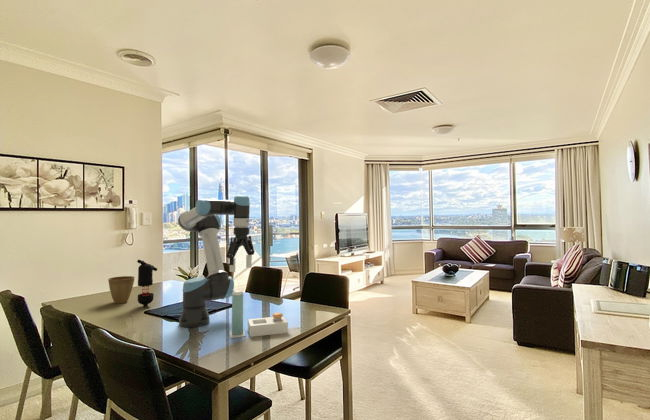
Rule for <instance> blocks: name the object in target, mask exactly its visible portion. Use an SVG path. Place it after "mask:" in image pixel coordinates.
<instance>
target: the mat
mask: <svg viewBox="0 0 650 420" xmlns="http://www.w3.org/2000/svg"><path fill="white" fill-rule="evenodd" d="M245 331H246V330H245V329H243V334H241V335H232V330H229V337H230V338H229V339H236V338H245V337H246V332H245Z"/></svg>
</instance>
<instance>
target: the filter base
mask: <svg viewBox="0 0 650 420" xmlns="http://www.w3.org/2000/svg"><path fill="white" fill-rule="evenodd" d="M288 323H289V322H288V321H287V319H286V318H285V316H283V317H281V321H275V322H274V318H273V316H270V317H269V316H268V317H260V318H259V317H257V318H248V319H247V332H248V333H249V336H250V337H251V338H252V337H259V336H260V337H261V336H269V335H279V334H288V332H289V328H288V327H289V326H288V325H289V324H288Z"/></svg>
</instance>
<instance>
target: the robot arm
mask: <svg viewBox="0 0 650 420" xmlns="http://www.w3.org/2000/svg"><path fill="white" fill-rule="evenodd" d="M250 204H251V203H250V197H249V196H247V195H235V196H234V198H233V199H232V200H231V199H230V200H229V199H206V198H205V199H204V198H202V199H197V201H196V202H195V207H193V208H192V209H190V210H186V211H183V212H182V213H181V214H179V216H178V218H177V223H178V225H179V227H180V228H181V229H182V230H184V231H186V232H192V233H195V232H196V233H198V236H199V237H200V238H201V239H202V244H203V249H204V256H205V261H206V262H205V263H206V267H207V272H208V274H207V276H206V277H205V276H200V277H193V278H189V279H187V280H185V281H184V282H183V283H182V284H183V285H182V309H181V310H182V312H181V314H180V317H179V319H178V325H179V326H180V327H183V328H198V327H202V326H205V325H207V324H209V323H210V321H211V319H210V315H209V312H208V309H207V302H212V301H218V300H224V299H228V298H230V297H232V295H233V291H235V281H234V278H233V277H232V276H230V275H229V273H228V272H227V271H225V267H224V263H223V259H222V258H223V257H222V254H221V248H220V243H219V238H218V234H219V232H220V230H221V227H222V221H221V218H220V216H223V215H224V216H233V226H234V228H233V235H234V237H230V242H229V246H228V248H227V252H226V256H225V257H226V258H227V259H229V262H228V264H229V272H231V273H236V255H237V253H238V250H239V248H241V247H243V248H244V251H245V252H246V255H245V256H246V257H245V258H246V259H245V268H247V269H252V259H253V256H252V255H254V254H255V249H254V245H253V242H252V236H251V235H250V227H249V226H250V207H251V206H250Z"/></svg>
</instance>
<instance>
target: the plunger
mask: <svg viewBox="0 0 650 420" xmlns="http://www.w3.org/2000/svg"><path fill="white" fill-rule="evenodd" d="M283 315H284V314H283V313H282V312H274V313H272V317H273V318H274V322H275V321H281V317H283Z"/></svg>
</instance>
